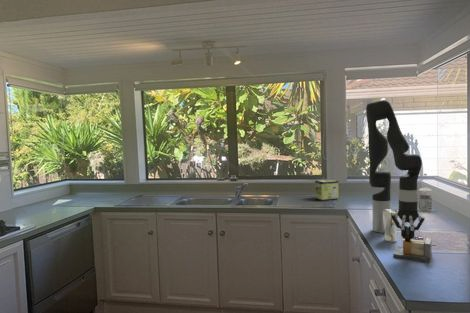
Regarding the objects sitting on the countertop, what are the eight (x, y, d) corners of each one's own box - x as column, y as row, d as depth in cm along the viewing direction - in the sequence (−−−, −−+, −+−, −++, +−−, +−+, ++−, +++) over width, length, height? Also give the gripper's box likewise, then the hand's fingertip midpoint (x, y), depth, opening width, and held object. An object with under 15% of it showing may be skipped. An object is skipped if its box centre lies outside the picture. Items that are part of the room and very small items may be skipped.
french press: (435, 211, 241) (435, 174, 239) (416, 211, 243) (416, 174, 242) (430, 208, 251) (430, 172, 249) (412, 208, 253) (412, 172, 251)
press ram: (405, 248, 164) (405, 224, 164) (412, 249, 163) (412, 225, 162) (403, 253, 158) (402, 228, 158) (410, 254, 157) (410, 229, 156)
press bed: (397, 249, 168) (397, 233, 168) (431, 253, 161) (431, 237, 161) (393, 257, 158) (393, 240, 158) (429, 262, 151) (429, 244, 150)
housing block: (412, 250, 162) (412, 239, 162) (424, 252, 159) (424, 240, 159) (410, 253, 158) (410, 242, 157) (423, 255, 155) (423, 244, 155)
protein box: (315, 199, 298) (314, 180, 297) (331, 197, 303) (331, 179, 302) (321, 201, 288) (321, 182, 287) (338, 199, 293) (338, 180, 292)
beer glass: (381, 240, 182) (381, 211, 181) (384, 237, 188) (384, 208, 187) (396, 242, 178) (396, 212, 177) (399, 239, 184) (399, 209, 183)
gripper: (389, 199, 160) (389, 238, 161) (425, 202, 152) (424, 242, 153) (392, 196, 166) (392, 234, 167) (426, 199, 159) (426, 238, 160)
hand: (407, 238), depth 160 cm, fingers closed on press ram, 2 cm apart
